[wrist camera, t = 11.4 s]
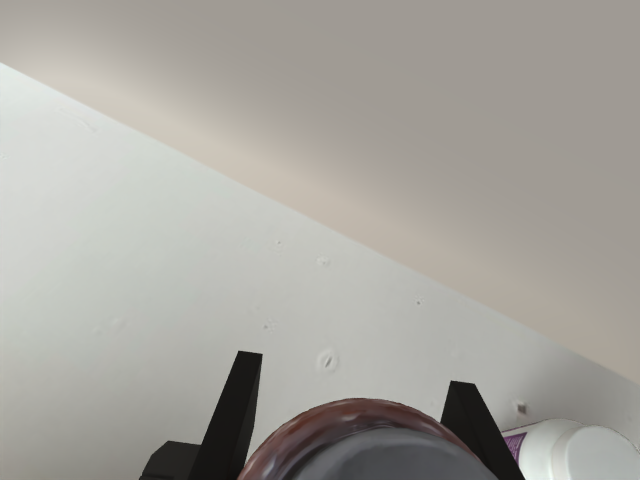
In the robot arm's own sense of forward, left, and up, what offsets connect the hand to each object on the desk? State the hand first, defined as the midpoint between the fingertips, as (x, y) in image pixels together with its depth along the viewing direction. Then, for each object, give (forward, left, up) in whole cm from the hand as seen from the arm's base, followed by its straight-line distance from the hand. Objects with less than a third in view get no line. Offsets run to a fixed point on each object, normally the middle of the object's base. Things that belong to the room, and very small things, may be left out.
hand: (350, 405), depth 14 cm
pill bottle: (-12, -5, -17) cm, 21 cm away
